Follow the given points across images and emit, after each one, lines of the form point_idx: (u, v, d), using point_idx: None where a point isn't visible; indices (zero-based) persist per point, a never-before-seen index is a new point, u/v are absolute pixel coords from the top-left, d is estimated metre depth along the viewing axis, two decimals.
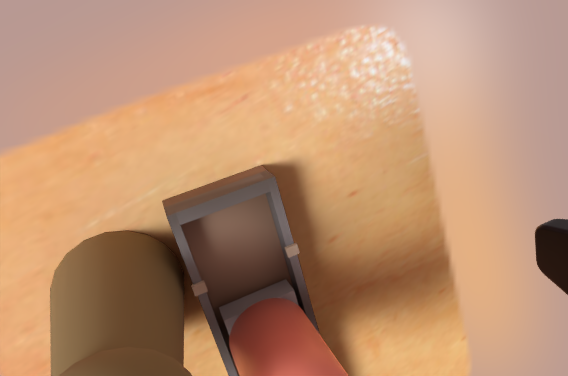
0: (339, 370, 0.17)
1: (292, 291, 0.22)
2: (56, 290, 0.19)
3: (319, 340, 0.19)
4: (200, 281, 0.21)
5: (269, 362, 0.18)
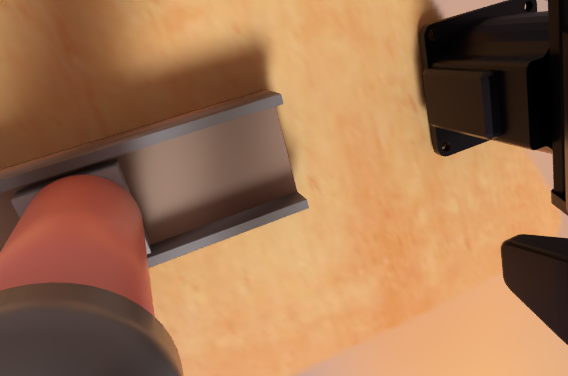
0: None
1: (13, 202, 0.16)
2: None
3: None
4: None
5: None
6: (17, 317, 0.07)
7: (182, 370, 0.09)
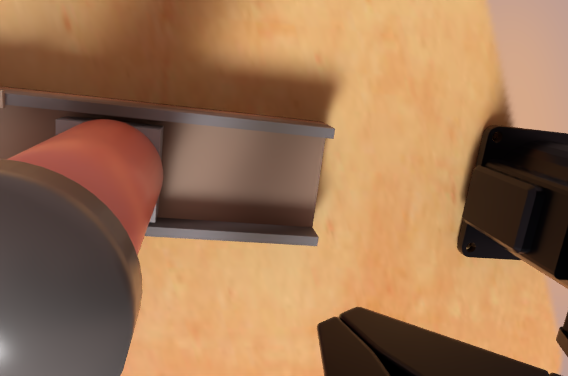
0: None
1: (56, 122, 0.16)
2: None
3: None
4: None
5: None
6: (17, 182, 0.07)
7: (137, 314, 0.09)
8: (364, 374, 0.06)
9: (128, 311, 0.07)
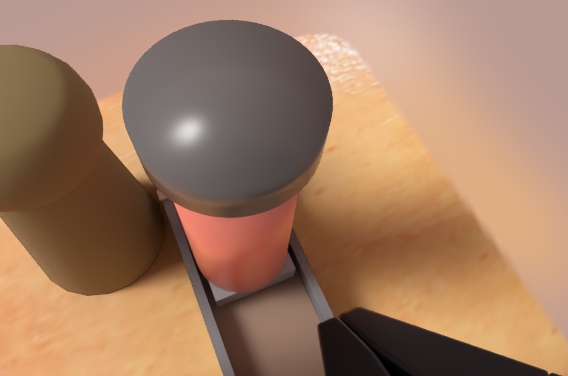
0: None
1: None
2: None
3: None
4: None
5: None
6: None
7: (254, 209, 0.11)
8: (364, 374, 0.06)
9: (287, 173, 0.10)
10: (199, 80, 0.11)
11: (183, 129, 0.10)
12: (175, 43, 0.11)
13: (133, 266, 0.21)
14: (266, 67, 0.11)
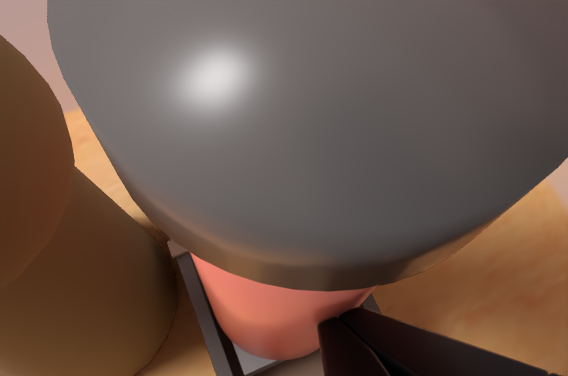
0: None
1: None
2: None
3: None
4: None
5: None
6: None
7: (399, 273, 0.04)
8: (364, 374, 0.06)
9: (541, 179, 0.03)
10: None
11: (217, 52, 0.04)
12: None
13: (132, 358, 0.14)
14: None
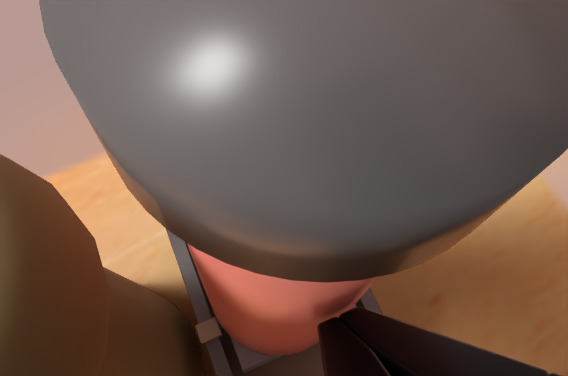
0: None
1: None
2: None
3: None
4: None
5: None
6: None
7: (400, 264, 0.04)
8: (364, 374, 0.06)
9: (544, 167, 0.03)
10: None
11: (213, 37, 0.03)
12: None
13: None
14: None
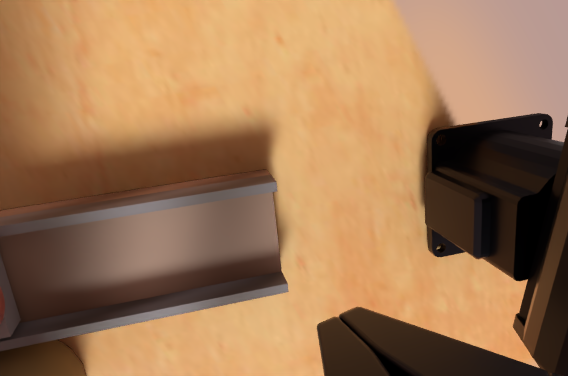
0: None
1: None
2: None
3: None
4: None
5: None
6: None
7: None
8: (364, 374, 0.06)
9: None
10: None
11: None
12: None
13: (64, 370, 0.20)
14: None
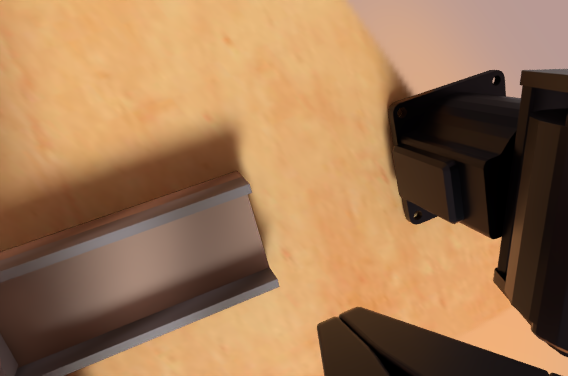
0: None
1: None
2: None
3: None
4: None
5: None
6: None
7: None
8: (364, 374, 0.06)
9: None
10: None
11: None
12: None
13: None
14: None
